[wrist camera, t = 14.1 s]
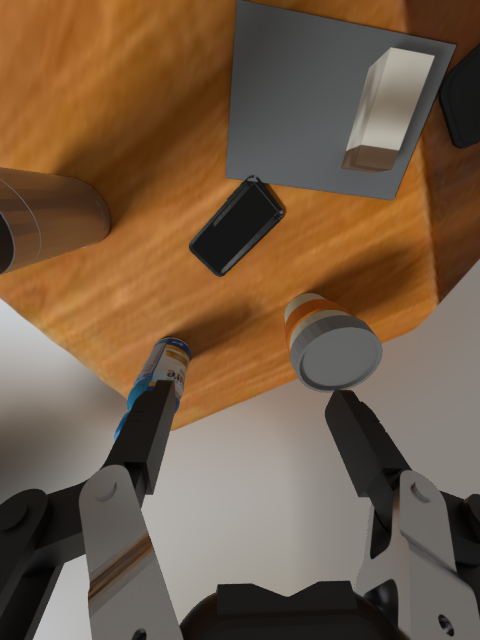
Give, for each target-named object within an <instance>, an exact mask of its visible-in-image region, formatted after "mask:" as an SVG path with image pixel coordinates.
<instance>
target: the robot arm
mask: <svg viewBox="0 0 480 640" xmlns="http://www.w3.org/2000/svg"><path fill="white" fill-rule="evenodd" d="M110 224H111V221H110V214H109V210H108V208H107V206H106V203H105V202H104V200H103V199H102V197H101V196H100V195H99V193H98V192H97V191H96V190H95V189H94V188H92V187H91V186H90V185H89V184H87V183H85V182H84V181H82V180H79V179H76V178H73V177H66V176H59V175H52V174H46V173H38V172H31V171H23V170H16V169H9V168H1V167H0V275H2V274H5V273H8V272H11V271H14V270H17V269H20V268H23V267H25V266H28V265H31V264H34V263H37V262H40V261H43V260H47V259H50V258H53V257H56V256H59V255H62V254H65V253H68V252H71V251H74V250H77V249H80V248H83V247H86V246H89V245H92V244H95V243H98V242H100V241H102V240H103V239H104V238H105V237H106V236H107V235H108V232H109V230H110ZM175 407H176V396H175V382H174V380H157V382H156V384H155V386H154V389H153V391H144V392H143V393H142V394H140V395H139V396H138V397H137V398H136V399H135V401H134V403H133V405H132V407H131V410H130V413H129V414H128V416H127V418H126V421H125V422H124V424H123V426H122V428H121V430H120V433H119V435H118V437H117V439H116V441H115V443H114V445H113V447H112V450H111V451H110V453H109V456H108V458H107V460H106V461H105V463H104V465H103V466H102V467H101V468H100V469H99V471H97V472H96V473H95V474H94V475H93V476H91V477H90V478H89V479H88V480H86V481H85V482H82V483H80V484H78V485H75V486H72V487H69V488H66V489H63V490H60V491H57V492H54V493H51V494H47V495H46V494H45V492H44V491H42V490H39V489H29V490H25V491H22V492H20V493H17V494H16V495H14V496H12V497H10V498H9V499H7V500H6V501H5V502H4V503H2V504H1V505H0V640H33V638H34V635H35V633H36V630H37V628H38V625H39V623H40V621H41V618H42V616H43V613H44V611H45V609H46V606H47V604H48V601H49V599H50V597H51V594H52V592H53V589H54V587H55V584H56V582H57V580H58V577H59V575H60V572H61V570H62V567H63V565H64V563H65V562H68V561H70V560H72V559H74V558H77V557H79V556H82V555H84V554H86V558H87V565H88V572H89V579H90V589H89V592H88V609H89V618H90V626H91V633H92V640H480V495H479V494H472V495H471V496H469V497H468V498H467V499H465V500H464V499H461V498H459V497H456V496H453V495H450V494H448V493H445V492H442V491H439V490H438V489H437V488H436V486H434V484H433V483H432V482H430V481H429V480H428V479H427V478H425V477H424V476H423V475H421V474H419V473H417V472H415V471H413V470H412V469H411V468H410V466H409V465H408V464H407V462H406V461H405V459H404V457H403V456H402V454H401V453H400V451H399V450H398V449H397V447H396V446H395V444H394V442H393V441H392V439H391V438H390V436H389V435H388V433H387V432H385V429H384V428H383V426H382V425H381V424H380V423H379V422H380V421H379V420H378V418H377V417H376V415H375V414H374V412H373V411H372V410H371V409H370V408H369V407H368V406H367V405H366V404H365V403H363V402H360V401H359V400H358V398H357V396H356V395H355V393H354V392H353V391H351V390H337V389H336V390H335V391H334V392H333V394H332V396H331V398H330V400H329V403H328V405H327V407H326V409H325V418H326V422H327V424H328V426H329V429H330V431H331V433H332V436H333V438H334V441H335V443H336V445H337V447H338V450H339V452H340V455H341V457H342V459H343V462H344V464H345V466H346V469H347V471H348V473H349V476H350V478H351V480H352V483H353V485H354V487H355V490H356V492H357V494H358V497H369V498H370V500H371V502H372V505H371V506H370V512H369V520H368V530H367V538H366V546H365V555H364V560H363V563H362V566H361V568H360V570H359V573H358V576H357V580H356V584H355V591H353V589H352V586H351V583H350V581H324V582H323V581H321V582H317V583H315V584H313V585H311V586H309V587H307V588H305V589H303V590H301V591H300V592H298V593H296V594H294V595H292V596H289V597H285V596H282V595H280V594H277V593H274V592H272V591H269V590H267V589H264V588H262V587H259V586H256V585H254V584H218V586H217V590H216V593H213V594H212V595H210V596H208V597H206V598H205V599H203V600H202V601H200V602H199V603H198V604H197V605H196V606H195V607H194V608H193V609H192V610H191V611H190V612H189V613H188V615H187V616H186V617H185V619H183V621H182V623H181V624H180V625H179V624H178V621H177V618H176V615H175V612H174V609H173V606H172V603H171V600H170V597H169V594H168V590H167V588H166V584H165V581H164V578H163V575H162V572H161V569H160V566H159V563H158V560H157V557H156V554H155V551H154V548H153V545H152V542H151V539H150V536H149V533H148V530H147V527H146V524H145V521H144V518H143V515H142V512H141V507H142V503H143V500H144V497H145V495H153V492H154V489H155V485H156V481H157V478H158V473H159V470H160V466H161V462H162V459H163V455H164V451H165V447H166V444H167V439H168V436H169V432H170V428H171V425H172V421H173V417H174V413H175Z"/></svg>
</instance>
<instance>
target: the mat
mask: <svg viewBox="0 0 480 640" xmlns="http://www.w3.org/2000/svg"><path fill="white" fill-rule="evenodd" d="M391 47H392V48H397V49H402V50H407V51H413V52H418V53H423V54H428V55H433V56H435V57H434V59H433V62H432V65H431V67H430V70H429V73H428V75H427V78H426V80H425V83H424V86H423V88H422V91H421V94H420V96H419V99H418V102H417V104H416V107H415V109H414V112H413V115H412V117H411V120H410V123H409V125H408V128H407V131H406V133H405V136H404V139H403V141H402V144H401V146H400V149H399V152H398V154H397V157H396V160H395V162H394V165H393V168H392V170H388V171H382V172H377V173H370V172H363V171H356V170H349V169H342V168H341V167H342V163H343V160H344V156H345V153H346V149H347V145H348V142H349V138H350V135H351V131H352V128H353V124H354V121H355V117H356V113H357V110H358V106H359V103H360V99H361V96H362V92H363V89H364V85H365V81H366V78H367V74H368V71H369V68H370V67H371V66H372V65H373V64H374V63H375V62H376V61H377V60H378V59H379V58H380V57H381V56H382V55H383V54H384V53H385V52H387V51H388V50H389V49H390V48H391ZM455 47H456V45H454V44H449V43H444V42H440V41H435V40H430V39H425V38H420V37H416V36H411V35H406V34H401V33H396V32H392V31H387V30H382V29H377V28H372V27H368V26H363V25H358V24H353V23H349V22H344V21H339V20H334V19H329V18H325V17H320V16H315V15H310V14H305V13H301V12H296V11H291V10H286V9H281V8H277V7H272V6H267V5H262V4H257V3H253V2H248V1H243V0H237V5H236V21H235V36H234V52H233V68H232V83H231V99H230V115H229V130H228V146H227V162H226V177H225V178H230V179H238V180H246V179H247V178H248V177H249V176H251V175H255V176H257V177H258V178H259V179H260V181H261V182H262V183H267V184H275V185H282V186H289V187H297V188H304V189H311V190H319V191H326V192H334V193H341V194H348V195H356V196H363V197H370V198H378V199H385V200H393V199H394V197H395V195H396V192H397V190H398V187H399V185H400V182H401V180H402V177H403V175H404V172H405V170H406V168H407V165H408V163H409V160H410V158H411V155H412V153H413V150H414V148H415V146H416V143H417V141H418V138H419V136H420V133H421V131H422V128H423V126H424V123H425V121H426V119H427V116H428V114H429V111H430V109H431V106H432V104H433V101H434V99H435V96H436V94H437V92H438V89H439V87H440V84H441V82H442V79H443V77H444V74H445V72H446V70H447V67H448V65H449V62H450V60H451V57H452V55H453V52H454V50H455ZM247 181H255V182H258V181H257V180H256V179H255V178H250V179H248V180H247Z"/></svg>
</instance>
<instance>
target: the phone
mask: <svg viewBox="0 0 480 640" xmlns="http://www.w3.org/2000/svg"><path fill="white" fill-rule="evenodd" d="M250 178H255V179H256V180H257V181H258V182H255V181H247V180H248V179H250ZM282 217H283V210H282V208H281V207H280V206H279V205H278V203H277V202H276V201H275V199H274V198H273V197H272V195H271V194H270V193H269V191H268V190H267V189H266V187H265V186H264V185H263V183H262V182H261V181H260V179H259V178H258V177H257V176H255V175H251V176H249V177H248V178H247V179H246V180H245V181H244V182H242V183H241V185H240V186H239V188H238V189H236V190H235V191H234V192H233V193H232V196H231V195H230V197H229V198H228V199H227V201H226V202H225V203H224V205H223V206H222V207H221V208H220V209H219V210H218V211H217V212H216V214H215V215H214V216H213V217H212V218H211V219H210V220H209V222H208V223H207V224H206V225H205V226H204V227H203V228H202V229H201V231H200V232H199V233H198V234H197V235H196V236H195V237H194V238H193V240H192V241H191V242H190V244H189V249H190V251H191V252H192V253H193V254H194V255H195V256H196V257H197V258H198V259H199V260H200V261H201V262H202V263H203V264H204V265H206V266H207V267H208V268H209V269H210V270H211V271H212V272H213V273H214V274H215V275H216V276H219V277H221V276H224V275H225V274H226V273H227V272H228V271H229V270H230V269H231V268H232V267H233V266H234V265H235V264H236V263H237V262H238V261H239V260H240V259H241V258H242V257H243V256H244V255H245V254H246V253H248V252H249V251H250V250H251V249H252V248H253V247H254V246H255V245H256V244H257V243H258V242H259V241H260V240H261V239H262V238H263V237H264V236H265V235H266V234H267V233H268V232H269V231H270V230H271V229H272V228H273V227H274V226H275V225H276V224H277V223H278V222H279V221H280V220H281V219H282Z"/></svg>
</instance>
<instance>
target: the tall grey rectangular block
mask: <svg viewBox="0 0 480 640" xmlns="http://www.w3.org/2000/svg"><path fill="white" fill-rule="evenodd" d="M434 57H435V56H433V55H428V54H423V53H418V52H413V51H407V50H402V49H397V48H392V47H391V48H390V49H389V50H388V51H387V52H385V53H384V54H383V55H382V56H381V57H380V58H379V59H378V60H377V61H376V62H375V63H374V64H373V65H372V66H371V67H370V68H369V71H368V74H367V78H366V81H365V85H364V89H363V92H362V96H361V99H360V103H359V106H358V110H357V113H356V117H355V121H354V124H353V128H352V131H351V135H350V138H349V142H348V145H347V149H346V153H345V156H344V160H343V163H342V167H341V168H342V169H349V170H356V171H363V172H370V173H377V172H382V171H388V170H392V168H393V165H394V162H395V160H396V157H397V154H398V152H399V149H400V146H401V144H402V141H403V139H404V136H405V133H406V131H407V128H408V125H409V123H410V120H411V117H412V115H413V112H414V109H415V107H416V104H417V102H418V99H419V96H420V94H421V91H422V88H423V86H424V83H425V80H426V78H427V75H428V73H429V70H430V67H431V65H432V62H433V59H434Z"/></svg>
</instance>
